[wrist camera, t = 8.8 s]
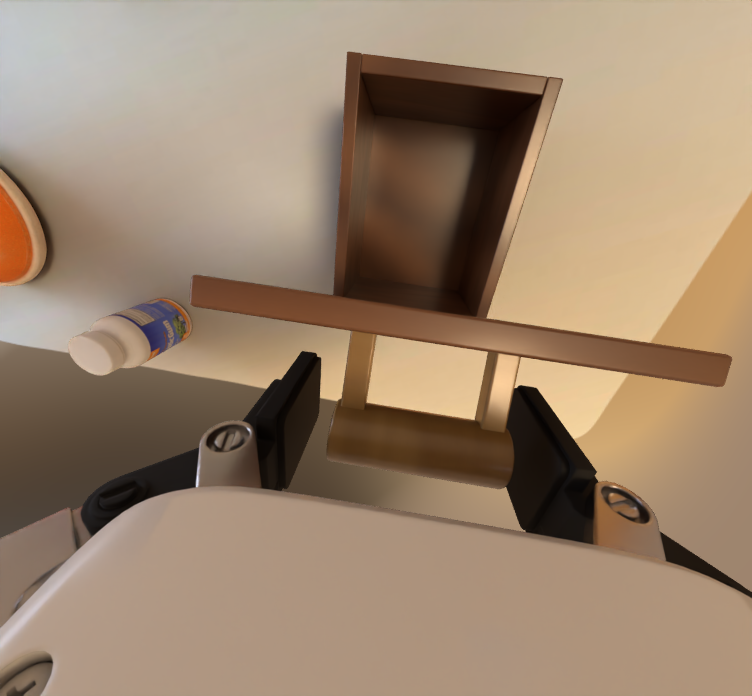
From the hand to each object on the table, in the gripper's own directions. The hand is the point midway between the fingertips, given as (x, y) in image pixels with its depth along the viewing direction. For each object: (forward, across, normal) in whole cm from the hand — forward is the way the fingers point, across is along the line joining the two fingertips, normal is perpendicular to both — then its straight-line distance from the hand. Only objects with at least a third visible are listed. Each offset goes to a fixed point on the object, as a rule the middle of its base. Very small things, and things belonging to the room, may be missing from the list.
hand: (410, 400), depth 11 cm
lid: (+4, 0, -2) cm, 4 cm away
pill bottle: (+20, +27, +8) cm, 35 cm away
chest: (+20, 0, -7) cm, 21 cm away
